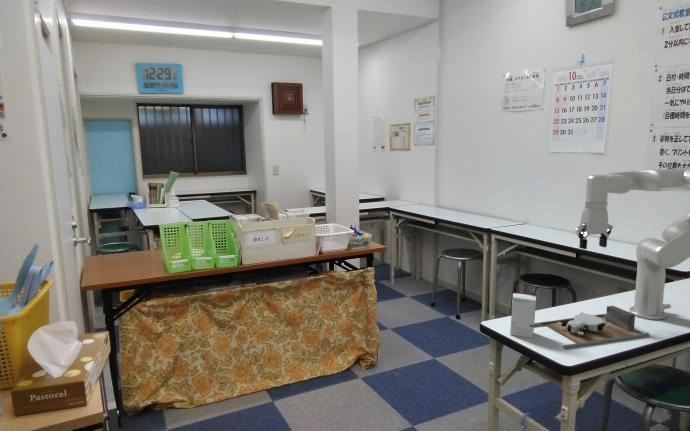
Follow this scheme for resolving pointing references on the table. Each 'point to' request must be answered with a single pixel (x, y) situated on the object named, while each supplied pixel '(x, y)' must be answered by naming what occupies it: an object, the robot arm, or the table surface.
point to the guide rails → (595, 340)
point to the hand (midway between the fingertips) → (592, 247)
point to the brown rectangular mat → (619, 327)
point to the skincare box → (523, 315)
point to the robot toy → (584, 324)
